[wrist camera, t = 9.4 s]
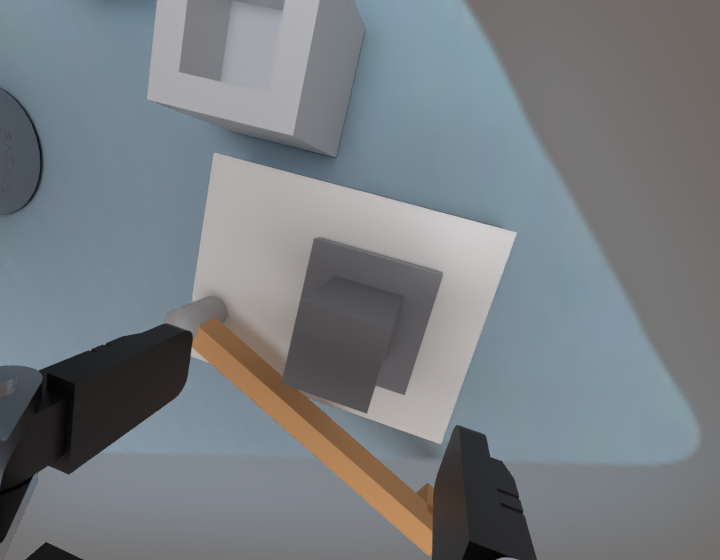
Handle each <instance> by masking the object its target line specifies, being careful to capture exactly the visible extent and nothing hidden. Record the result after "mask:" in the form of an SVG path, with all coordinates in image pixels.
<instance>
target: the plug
mask: <svg viewBox="0 0 720 560" xmlns="http://www.w3.org/2000/svg"><path fill="white" fill-rule="evenodd" d="M442 277H443V272H441V271H437V270H434V269H430V268H427V267H423V266H420V265H416V264H413V263H409V262H406V261H402V260H399V259H395V258H392V257H388V256H385V255H382V254H378V253H375V252H371V251H368V250H364V249H361V248H357V247H354V246H350V245H347V244H343V243H340V242H336V241H333V240H329V239H326V238H322V237H317V238H314V240H313V245H312V249H311V253H310V258H309V262H308V267H307V271H306V276H305V280H304V285H303V289H302V293H301V298H300V302H299V307H298V311H297V316H296V320H295V325H294V329H293V333H292V338H291V342H290V347H289V351H288V356H287V360H286V365H285V369H284V373H283V378H282V382H281V384H284V385H286V386H289V387H292V388H295V389H298V390H301V391H303V392H306V393H309V394H312V395H315V396H318V397H321V398H323V399H326V400H329V401H332V402H335V403H338V404H341V405H343V406H346V407H349V408H352V409H355V410H358V411H360V412H363V413H366V414H367V412H368V409H369V406H370V403H371V400H372V397H373V393H374V390H375V387H376V386H378V387H381V388H384V389H387V390H390V391H393V392H396V393H399V394H402V395H405V393H406V390H407V387H408V384H409V380H410V377H411V374H412V371H413V368H414V365H415V362H416V359H417V355H418V352H419V349H420V346H421V343H422V340H423V337H424V334H425V330H426V327H427V324H428V321H429V318H430V315H431V312H432V309H433V305H434V302H435V299H436V296H437V293H438V290H439V287H440V284H441V280H442Z"/></svg>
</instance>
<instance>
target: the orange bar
mask: <svg viewBox="0 0 720 560" xmlns="http://www.w3.org/2000/svg"><path fill="white" fill-rule="evenodd" d="M225 319H226V308H225V306H224V304H223V303H222V301H221V300H219V299H218V298H216V297H213V296H208V297H205V298H202V299H200V300H197V301H195V302H192V303H189V304H187V305H184V306H182V307H179V308H177V309H174V310H172V311H170V312H169V313H167V315H166V316H165V319H164V324H165V323H168V324H171V325H174V326H177V327H180V328H183V329H186V330H188V331H191V333H192V334H193V343H192V348H193V349H195V350H196V351H197V352H198V353H199V354H200V355H201V356H202V357H204V358H205V359H206V360H207V361H208V362H209V363H210V364H212V365H213V366H214V367H215V368H216V369H217V370H218V371H219V372H221V373H222V374H223V375H224V376H225V377H226V378H227V379H229V380H230V381H231V382H232V383H233V384H234V385H235V386H237V387H238V388H239V389H240V390H241V391H242V392H243V393H244V394H246V395H247V396H248V397H249V398H250V399H251V400H252V401H254V402H255V403H256V404H257V405H258V406H259V407H260V408H261V409H263V410H264V411H265V412H266V413H267V414H268V415H269V416H271V417H272V418H273V419H274V420H275V421H276V422H277V423H278V424H280V425H281V426H282V427H283V428H284V429H285V430H286V431H288V432H289V433H290V434H291V435H292V436H293V437H294V438H296V439H297V440H298V441H299V442H300V443H301V444H302V445H303V446H305V447H306V448H307V449H308V450H309V451H310V452H311V453H313V454H314V455H315V456H316V457H317V458H318V459H319V460H320V461H322V462H323V463H324V464H325V465H326V466H327V467H328V468H330V469H331V470H332V471H333V472H334V473H335V474H336V475H338V476H339V477H340V478H341V479H342V480H343V481H345V483H347V484H348V485H349V486H350V487H351V488H352V489H353V490H355V491H356V492H357V493H358V494H359V495H360V496H361V497H362V498H364V499H365V500H366V501H367V502H368V503H369V504H370V505H372V506H373V507H374V508H375V509H376V510H377V511H378V512H380V513H381V514H382V515H383V516H384V517H385V518H386V519H388V520H389V521H390V522H391V523H392V524H393V525H394V526H395V527H397V528H398V529H399V530H400V531H401V532H402V533H403V534H404V535H406V536H407V537H408V538H409V539H410V540H411V541H413V542H414V543H415V544H416V545H417V546H418V547H419V548H420V549H422V550H423V551H424V552H425V553H426V554H427V555H428V556H429V555H431V554H432V529H433V493H434V488H433V487H432V486H431V485H430V484H429V483H427V484H426V485H425V486H424V487H422V488H421V489H420V490H419V491H418V492H417V493H415V492H414V491H413V490H412V489H410V488H409V487H408V486H407V485H406V484H405V483H403V481H401V480H400V479H399V478H398V477H397V476H396V475H394V474H393V473H392V472H391V471H390V470H389V469H387V467H385V466H384V465H383V464H382V463H381V462H380V461H379V460H377V459H376V458H375V457H374V456H373V455H372V454H371V453H369V452H368V451H367V450H366V449H365V448H364V447H363V446H361V445H360V444H359V443H358V442H357V441H356V440H355V439H353V438H352V437H351V436H350V435H349V434H348V433H347V432H346V431H344V430H343V429H342V428H341V427H340V426H339V425H338V424H336V423H335V422H334V421H333V420H332V419H331V418H330V417H328V416H327V415H326V414H325V413H324V412H323V411H322V410H320V409H319V408H318V407H317V406H316V405H315V404H314V403H312V402H311V401H310V400H309V399H308V398H307V397H306V396H304V395H303V394H302V393H301V392H300V391H299V390H298V389H295V388H292V387H289V386H286V385H284V384H281V382H282V378H283V376H282V375H281V374H279V373H278V372H277V371H276V370H275V369H274V368H273V367H271V366H270V365H269V364H268V363H267V362H266V361H265V360H263V359H262V358H261V357H260V356H259V355H258V354H257V353H255V352H254V351H253V350H252V349H251V348H250V347H249V346H247V345H246V344H245V343H244V342H243V341H242V340H241V339H239V338H238V337H237V336H236V335H235V334H234V333H233V332H231V331H230V330H229V329H228V328H227V327H226V326H225V325H223V324H222V323H223V322H224V321H225Z"/></svg>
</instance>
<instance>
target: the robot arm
mask: <svg viewBox="0 0 720 560" xmlns="http://www.w3.org/2000/svg"><path fill="white" fill-rule="evenodd" d="M39 171H40V152H39V147H38V142H37V137H36V135H35V132H34V129H33V127H32V124H31V122H30V120H29V119H28V117H27V115H26V113H25V112H24V110H23V109H22V108H21V106H20V105H19V104H18V103H17V102H16V100H15V99H14V98H12V97H11V96H10V95H9V94H8V93H7V92H5V91H4V90H2V89H0V215H4V214H9V213H13V212H15V211H17V210H18V209H20V208H22V207H23V206H24V205H25V204H26V203H27V202H28V201H29V199H30V198H31V196H32V194H33V193H34V191H35V188H36V185H37V182H38V179H39ZM192 343H193V334H192V333H191V331H188V330H186V329H183V328H180V327H177V326H174V325H171V324H168V323H165V324H162V325H160V326H157V327H155V328H153V329H150V330H148V331H145V332H143V333H139V334H133V335H128V336H123V337H120V338H118V339H115V340H113V341H110V342H108V343H106V345H101V346H98V347H96V348H93V349H92V350H91V351H86V352H83V353H81V354H78V355H76V356H73V357H71V358H69V359H66V360H64V361H61V362H59V363H56V364H54V365H51V366H49V367H46V368H44V369H41V370H39V371H37V370H36V369H33V368H30V367H25V366H13V365H11V366H0V560H5V557H6V555H7V552H8V550H9V547H10V546H11V543H12V541H13V538H14V536H15V534H16V532H17V529H18V527H19V524H20V522H21V520H22V518H23V515H24V513H25V511H26V508H27V506H28V504H29V501H30V499H31V497H32V494H33V492H34V490H35V487H36V485H37V482H38V472H39V471H41V470H42V469H44V468H45V467H47V466H51V467H53V468H55V469H57V470H60V471H62V472H64V473H67V474H70V473H72V472H73V471H75V470H76V469H77V468H79V467H80V466H81V465H83V464H84V463H86V462H87V461H88V460H90V459H91V458H93V457H94V456H95V455H97V454H98V453H100V452H101V451H102V450H104V449H105V448H106V447H108V446H109V445H111V444H112V443H113V442H115V441H116V440H118V439H119V438H120V437H122V436H123V435H125V434H126V433H127V432H129V431H130V430H131V429H133V428H134V427H136V426H137V425H138V424H140V423H141V422H143V421H144V420H145V419H147V418H148V417H150V416H151V415H152V414H154V413H155V412H156V411H158V410H159V409H161V408H162V407H163V406H165V405H166V404H168V403H169V402H170V401H172V400H173V399H174V398H176V397H177V396H178V395H179V393H180V392H181V391H182V389H183V387H184V385H185V383H186V380H187V376H188V369H189V363H190V356H191V350H192ZM26 560H83V559H80V558H78V557H76V556H74V555H72V554H70V553H68V552H66V551H64V550H62V549H59V548H57V547H55V546H53V545H51V544H49V543H47V542H46V543H44V544H43V545H42V546H41V547H40V548H38V549H37V550H36V551H35V552H34V553H33V554H31V555H30V556H29V557H28V558H27V559H26ZM432 560H537V559H536V555H535V551H534V548H533V545H532V541H531V537H530V534H529V530H528V527H527V523H526V519H525V516H524V515H523V509H522V505H521V501H520V500H519V494H518V491H517V487H516V484H515V480H514V478H513V477H512V475H511V474H510V472H509V471H508V469H507V468H506V467H505V465H504V464H503V462H502V461H499V460H497V459H494V458H491V457H490V454H489V449H488V444H487V439H486V436H485V435H484V434H482V433H479V432H476V431H473V430H470V429H468V428H465V427H462V426H459V425H456V427H455V428H454V430H453V433H452V435H451V438H450V441H449V443H448V446H447V449H446V452H445V454H444V457H443V460H442V463H441V465H440V468H439V471H438V474H437V478H436V482H435V487H434V493H433V529H432Z"/></svg>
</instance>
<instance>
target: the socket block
mask: <svg viewBox="0 0 720 560" xmlns="http://www.w3.org/2000/svg"><path fill="white" fill-rule="evenodd" d="M516 234H517V233H516V232H513V231H510V230H506V229H503V228H499V227H496V226H492V225H488V224H484V223H481V222H477V221H473V220H469V219H465V218H462V217H458V216H454V215H450V214H447V213H443V212H439V211H435V210H431V209H428V208H424V207H420V206H416V205H413V204H409V203H405V202H401V201H397V200H394V199H390V198H386V197H382V196H379V195H375V194H371V193H367V192H363V191H360V190H356V189H352V188H348V187H345V186H341V185H337V184H333V183H329V182H326V181H322V180H318V179H314V178H310V177H307V176H303V175H299V174H295V173H292V172H288V171H284V170H280V169H276V168H273V167H269V166H265V165H261V164H258V163H254V162H250V161H246V160H242V159H238V158H234V157H230V156H226V155H222V154H218V153H214V154H213V161H212V168H211V174H210V181H209V188H208V194H207V201H206V208H205V215H204V221H203V228H202V235H201V241H200V248H199V255H198V261H197V268H196V275H195V281H194V288H193V295H192V301H191V303H192V302H195V301H197V300H200V299H202V298H205V297H208V296H213V297H216V298H218V299H219V300H221V301H222V303H223V304H224V306H225V308H226V319H225V321H224V322H223V323H222V324H223V325H225V326H226V327H227V328H228V329H229V330H230V331H231V332H233V333H234V334H235V335H236V336H237V337H238V338H239V339H241V340H242V341H243V342H244V343H245V344H246V345H247V346H249V347H250V348H251V349H252V350H253V351H254V352H255V353H257V354H258V355H259V356H260V357H261V358H262V359H263V360H265V361H266V362H267V363H268V364H269V365H270V366H271V367H273V368H274V369H275V370H276V371H277V372H278V373H279V374H281V375H282V376H283V373H284V369H285V365H286V360H287V356H288V351H289V347H290V342H291V338H292V333H293V329H294V325H295V320H296V316H297V311H298V307H299V302H300V298H301V293H302V289H303V285H304V280H305V276H306V271H307V267H308V262H309V258H310V253H311V249H312V245H313V240H314V238H317V237H322V238H326V239H329V240H333V241H336V242H340V243H343V244H347V245H350V246H354V247H357V248H361V249H364V250H368V251H371V252H375V253H378V254H382V255H385V256H388V257H392V258H395V259H399V260H402V261H406V262H409V263H413V264H416V265H420V266H423V267H427V268H430V269H434V270H437V271H441V272H443V277H442V280H441V284H440V287H439V290H438V293H437V296H436V299H435V302H434V305H433V309H432V312H431V315H430V318H429V321H428V324H427V327H426V330H425V334H424V337H423V340H422V343H421V346H420V349H419V352H418V355H417V359H416V362H415V365H414V368H413V371H412V374H411V377H410V380H409V384H408V387H407V390H406V393H405V395H402V394H399V393H396V392H393V391H390V390H387V389H384V388H381V387H378V386H376V387H375V390H374V393H373V397H372V400H371V403H370V406H369V409H368V412H367V414H366V413H363V412H360V411H358V410H355V409H352V408H349V407H346V406H343V405H341V404H338V403H335V402H332V401H329V400H326V399H323V398H321V397H318V396H315V395H312V394H309V393H306V392H303V391H301V390H299V391H300V392H301V393H302V394H303V395H304V396H306V397H308V398H311V399H313V400H316V401H319V402H322V403H325V404H328V405H330V406H333V407H336V408H339V409H342V410H345V411H347V412H350V413H353V414H356V415H359V416H362V417H364V418H367V419H370V420H373V421H376V422H379V423H381V424H384V425H387V426H390V427H393V428H396V429H398V430H401V431H404V432H407V433H410V434H413V435H416V436H418V437H421V438H424V439H427V440H430V441H433V442H435V443H438V444H441V443H442V440H443V437H444V434H445V431H446V429H447V426H448V423H449V420H450V418H451V415H452V412H453V409H454V407H455V404H456V401H457V398H458V395H459V393H460V390H461V387H462V384H463V382H464V379H465V376H466V373H467V370H468V368H469V365H470V362H471V359H472V357H473V354H474V351H475V348H476V345H477V343H478V340H479V337H480V334H481V332H482V329H483V326H484V323H485V320H486V318H487V315H488V312H489V309H490V307H491V304H492V301H493V298H494V295H495V293H496V290H497V287H498V284H499V282H500V279H501V276H502V273H503V270H504V268H505V265H506V262H507V259H508V257H509V254H510V251H511V248H512V245H513V243H514V240H515V237H516ZM191 357H194V358H197V359H200V360H203V361H206V362H208V361H207V360H206V359H205V358H204V357H202V356H201V355H200V354H199V353H198V352H197V351H196V350H195V349H193V348H192V350H191ZM208 363H209V362H208Z"/></svg>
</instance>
